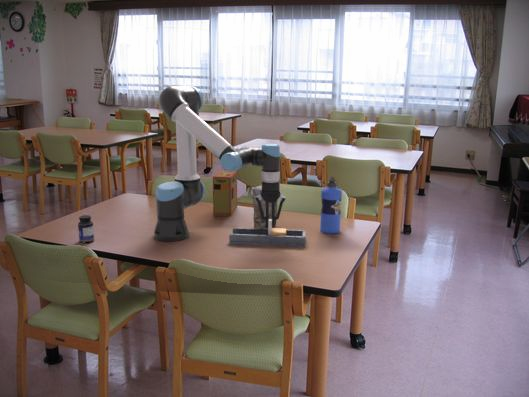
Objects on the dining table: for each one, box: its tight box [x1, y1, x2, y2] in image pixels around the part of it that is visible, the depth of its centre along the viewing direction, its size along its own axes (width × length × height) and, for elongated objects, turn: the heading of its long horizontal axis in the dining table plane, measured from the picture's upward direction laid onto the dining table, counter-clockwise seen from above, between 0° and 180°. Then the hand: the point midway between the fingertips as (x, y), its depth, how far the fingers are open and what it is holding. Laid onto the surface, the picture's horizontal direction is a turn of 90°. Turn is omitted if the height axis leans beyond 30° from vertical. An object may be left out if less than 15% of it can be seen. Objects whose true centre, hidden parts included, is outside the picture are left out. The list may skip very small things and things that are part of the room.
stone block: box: [252, 184, 278, 229], centre depth 248 cm, size 13×7×20 cm, turn 151°
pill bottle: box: [77, 214, 95, 243], centre depth 228 cm, size 6×6×11 cm
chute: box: [228, 227, 307, 248], centre depth 230 cm, size 32×12×4 cm, turn 85°
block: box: [271, 227, 287, 236], centre depth 230 cm, size 6×6×4 cm
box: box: [212, 169, 238, 217], centre depth 274 cm, size 17×9×20 cm, turn 172°
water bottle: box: [319, 176, 343, 235], centre depth 243 cm, size 9×9×25 cm
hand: (270, 234), depth 230 cm, fingers closed
